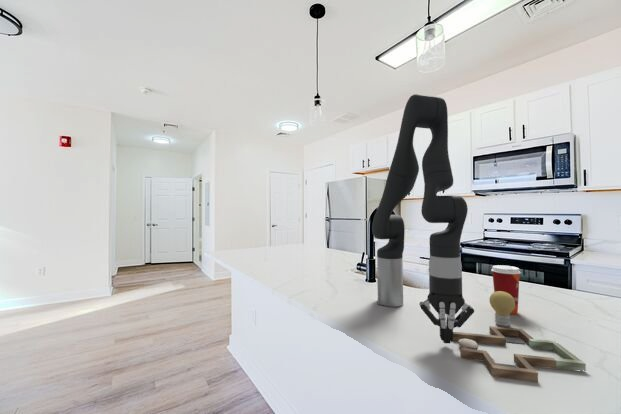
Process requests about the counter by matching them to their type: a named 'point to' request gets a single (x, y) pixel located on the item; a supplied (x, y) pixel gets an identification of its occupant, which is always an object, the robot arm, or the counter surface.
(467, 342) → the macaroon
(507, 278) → the coffee cup
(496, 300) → the light bulb
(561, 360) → the brown green zigzag frame
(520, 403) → the counter surface
